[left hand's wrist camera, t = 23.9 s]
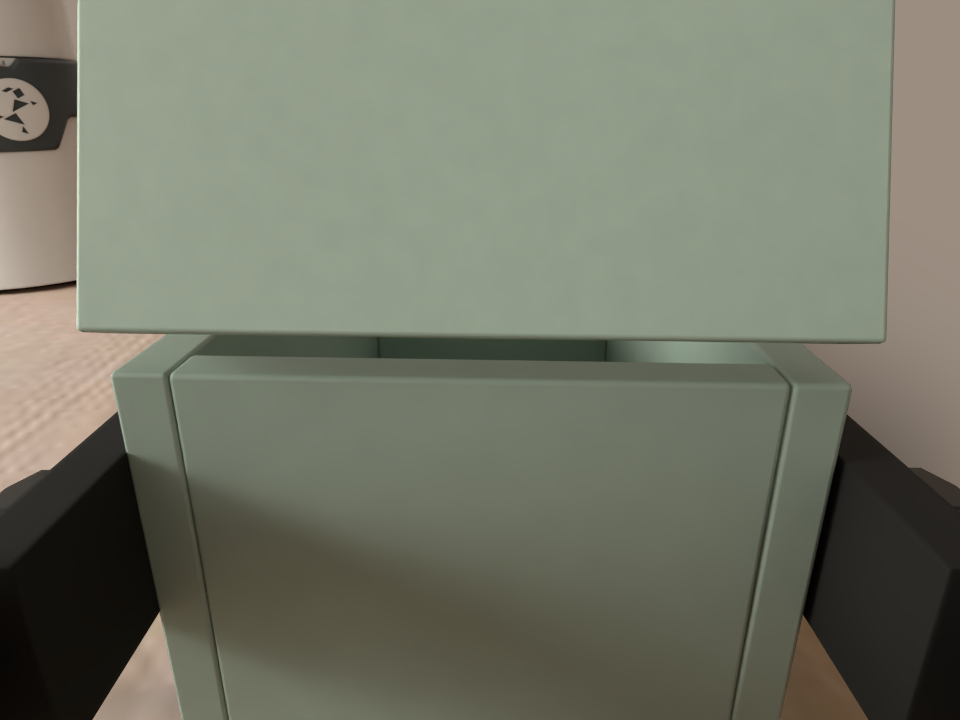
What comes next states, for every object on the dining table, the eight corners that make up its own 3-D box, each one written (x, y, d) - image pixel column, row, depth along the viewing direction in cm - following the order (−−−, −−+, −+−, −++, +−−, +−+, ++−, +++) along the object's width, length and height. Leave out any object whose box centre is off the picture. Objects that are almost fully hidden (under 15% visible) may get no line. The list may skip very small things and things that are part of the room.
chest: (366, 430, 26) (351, 202, 23) (617, 435, 26) (636, 204, 23) (202, 826, 12) (107, 373, 9) (754, 846, 12) (856, 385, 9)
